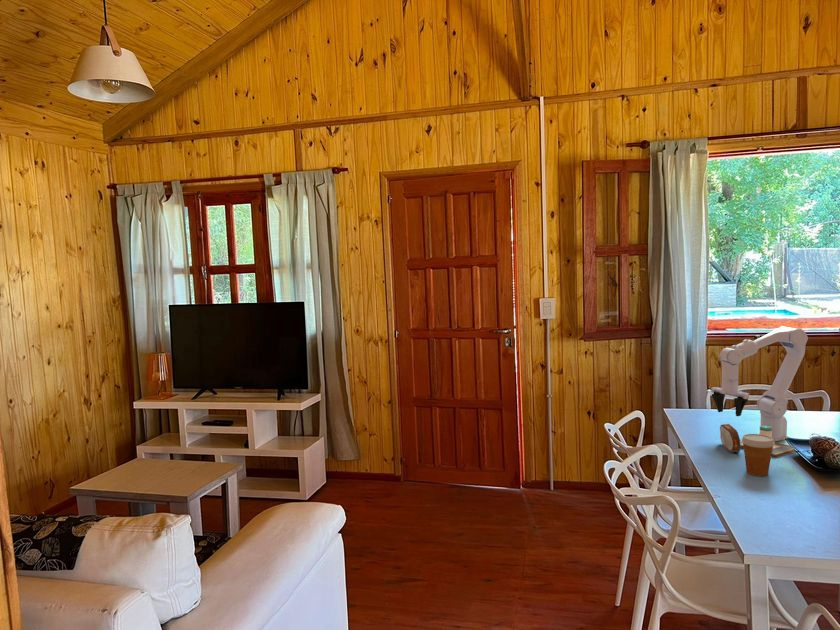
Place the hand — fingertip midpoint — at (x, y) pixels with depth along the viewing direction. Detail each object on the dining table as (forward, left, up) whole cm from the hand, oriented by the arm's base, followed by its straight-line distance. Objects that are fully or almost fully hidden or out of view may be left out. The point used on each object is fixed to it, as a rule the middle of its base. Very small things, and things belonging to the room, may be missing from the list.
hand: (729, 413), depth 234 cm
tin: (+9, +7, -11) cm, 16 cm away
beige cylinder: (-2, +14, -9) cm, 17 cm away
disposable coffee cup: (+24, +28, -11) cm, 38 cm away
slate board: (-2, +14, -11) cm, 17 cm away
